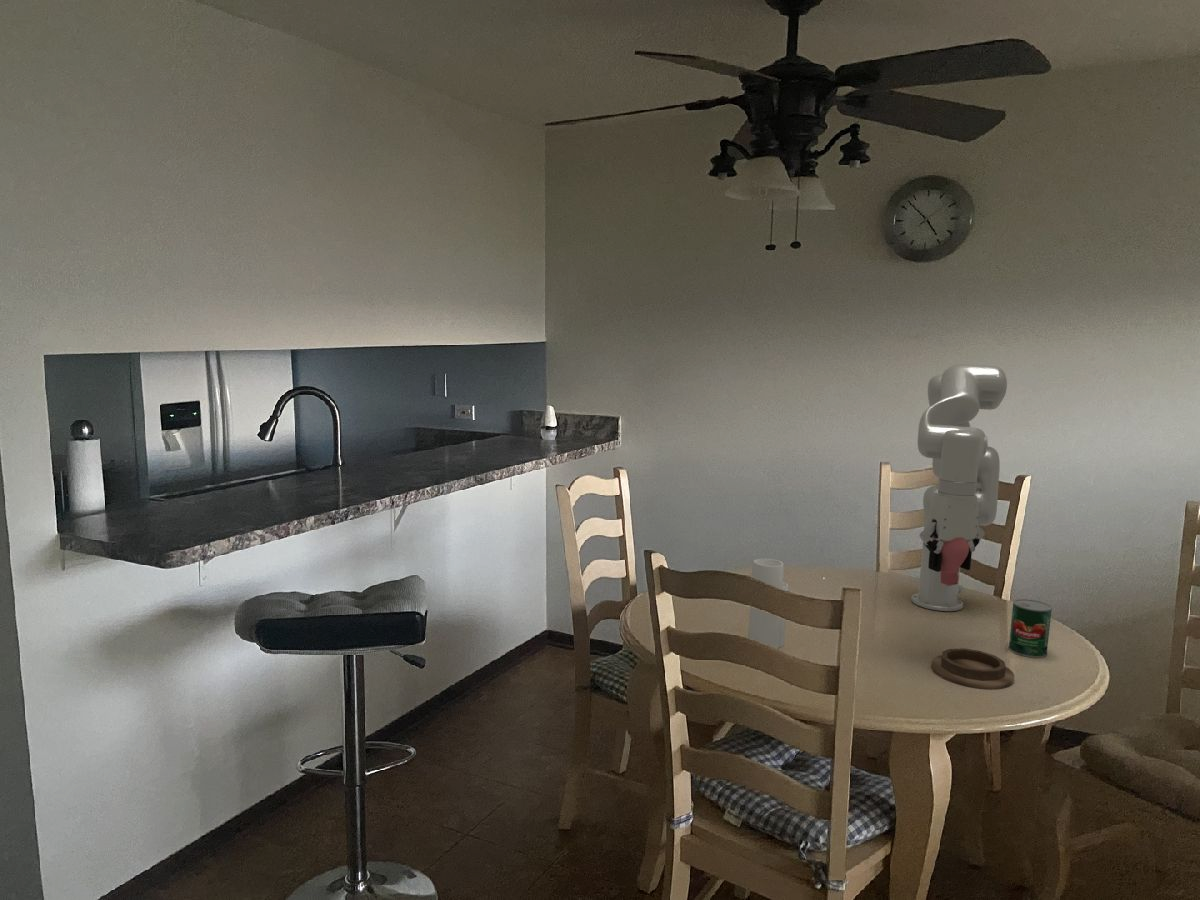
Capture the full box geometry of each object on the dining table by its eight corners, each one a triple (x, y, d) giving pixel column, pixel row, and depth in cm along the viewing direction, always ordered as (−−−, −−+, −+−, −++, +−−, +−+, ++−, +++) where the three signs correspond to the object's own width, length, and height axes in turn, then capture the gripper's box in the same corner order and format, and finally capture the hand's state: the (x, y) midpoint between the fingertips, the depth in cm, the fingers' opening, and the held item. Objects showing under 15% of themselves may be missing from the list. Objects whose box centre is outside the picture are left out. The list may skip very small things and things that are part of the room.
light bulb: (924, 585, 189) (929, 530, 187) (938, 579, 194) (943, 526, 193) (957, 592, 184) (962, 537, 183) (970, 586, 189) (975, 532, 188)
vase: (774, 658, 188) (780, 568, 185) (741, 652, 191) (747, 563, 188) (786, 642, 198) (792, 556, 195) (755, 636, 201) (760, 551, 198)
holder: (955, 652, 195) (956, 640, 194) (1027, 676, 182) (1029, 663, 182) (916, 669, 185) (917, 655, 184) (990, 695, 172) (991, 681, 172)
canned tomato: (1038, 646, 201) (1044, 600, 199) (1052, 659, 193) (1058, 611, 191) (1002, 643, 202) (1007, 597, 200) (1015, 656, 194) (1020, 609, 192)
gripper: (977, 484, 192) (969, 562, 195) (911, 486, 187) (904, 566, 190) (1002, 490, 185) (994, 571, 188) (934, 492, 180) (927, 576, 182)
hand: (949, 568), depth 189 cm, fingers closed on light bulb, 7 cm apart
